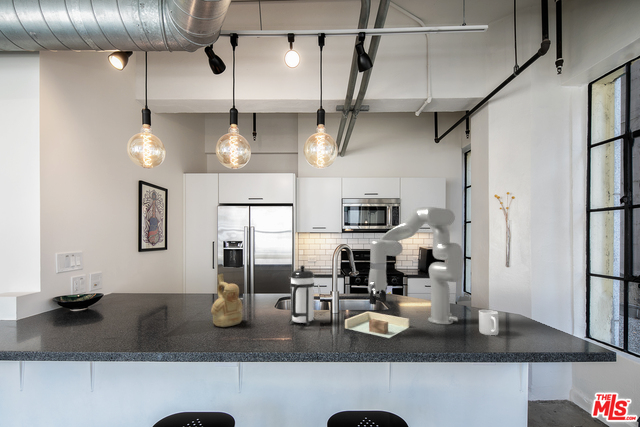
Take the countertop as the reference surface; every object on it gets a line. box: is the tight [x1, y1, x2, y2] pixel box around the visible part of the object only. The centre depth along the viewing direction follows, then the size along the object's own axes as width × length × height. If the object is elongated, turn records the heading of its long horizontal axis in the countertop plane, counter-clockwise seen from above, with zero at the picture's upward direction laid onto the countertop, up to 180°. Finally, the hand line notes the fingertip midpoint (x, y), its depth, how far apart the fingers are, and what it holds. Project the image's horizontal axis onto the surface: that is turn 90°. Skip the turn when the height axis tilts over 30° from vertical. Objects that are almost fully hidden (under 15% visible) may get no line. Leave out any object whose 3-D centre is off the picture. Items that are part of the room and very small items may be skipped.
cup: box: [478, 309, 499, 336], centre depth 161 cm, size 8×12×10 cm
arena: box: [344, 311, 410, 339], centre depth 169 cm, size 24×22×4 cm
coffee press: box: [288, 265, 316, 327], centre depth 178 cm, size 17×16×30 cm
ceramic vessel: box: [210, 273, 244, 328], centre depth 177 cm, size 17×20×25 cm
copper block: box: [369, 319, 388, 334], centre depth 162 cm, size 8×4×5 cm, turn 52°
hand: (377, 302), depth 162 cm, fingers open, 9 cm apart
